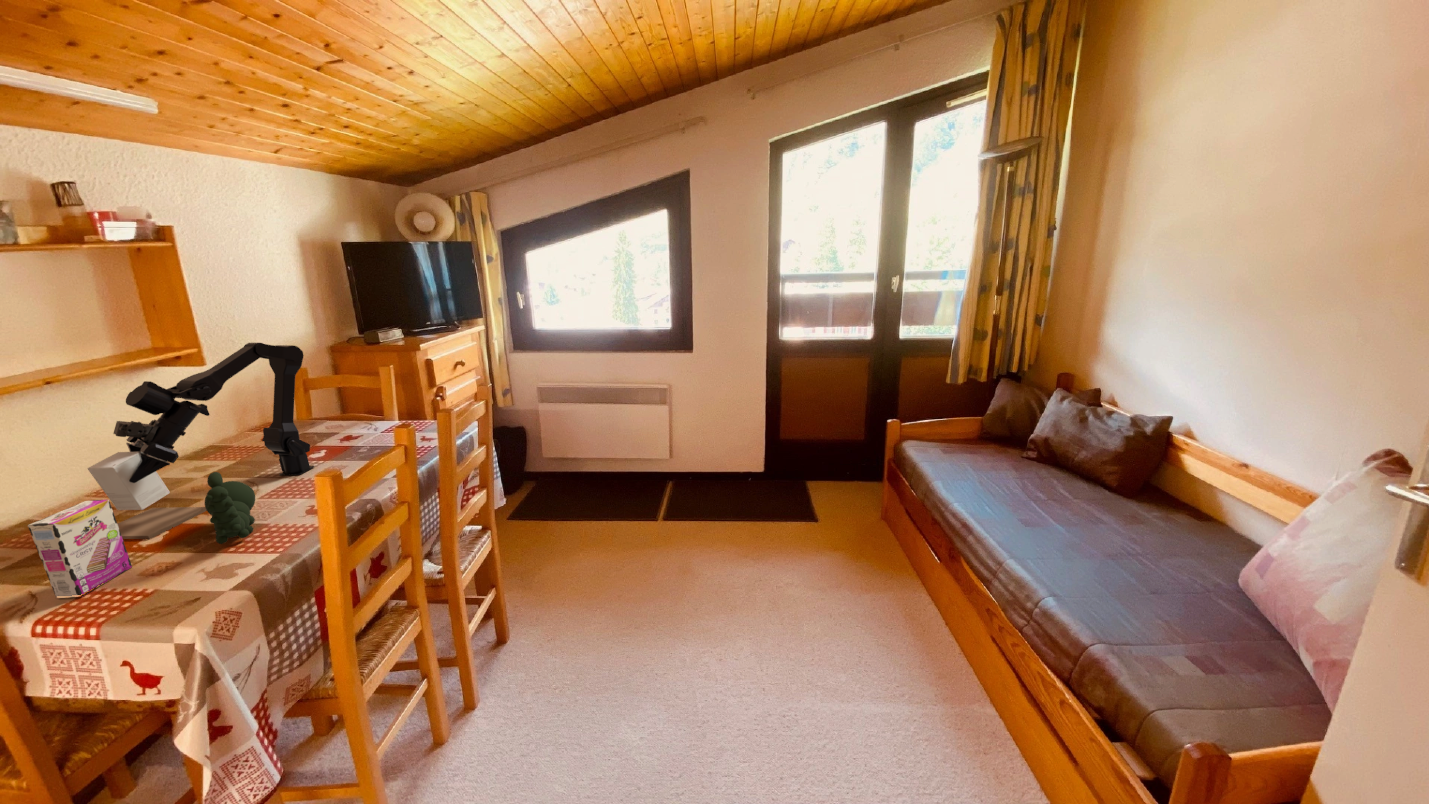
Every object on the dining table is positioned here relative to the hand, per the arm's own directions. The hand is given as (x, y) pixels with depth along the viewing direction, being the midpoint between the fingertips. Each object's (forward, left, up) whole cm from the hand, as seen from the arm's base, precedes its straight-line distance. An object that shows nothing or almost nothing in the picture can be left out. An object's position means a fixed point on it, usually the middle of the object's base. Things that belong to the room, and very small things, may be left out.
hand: (127, 478), depth 133 cm
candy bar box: (-16, +24, -13) cm, 32 cm away
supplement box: (-1, -1, -7) cm, 7 cm away
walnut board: (-1, -1, -13) cm, 13 cm away
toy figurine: (-27, +3, -14) cm, 30 cm away
